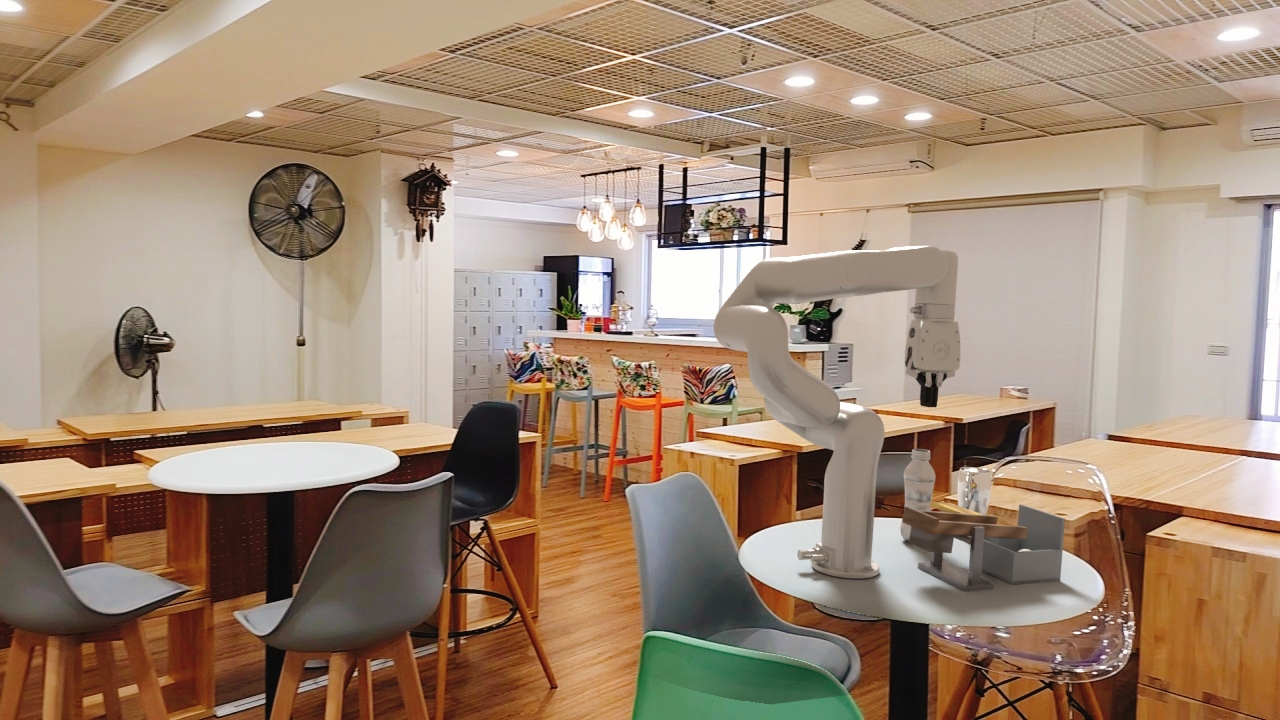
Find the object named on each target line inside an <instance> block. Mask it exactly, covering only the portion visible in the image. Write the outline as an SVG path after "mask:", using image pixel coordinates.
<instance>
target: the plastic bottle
mask: <svg viewBox="0 0 1280 720" xmlns="http://www.w3.org/2000/svg"><path fill="white" fill-rule="evenodd" d="M910 457H911V459H912V460H911V461H910V462H909V463H908V465H906V467H905V469H904V471H903V486H904V507H911V508H913V509H916V510H923V511H932V507H930V501H931V502H932V500H933V491H934V488H935V482H936V477H937V476H936V473H935V470H934V468H933V467H932V465H931V463H930V462H929V461H930V460H931V451H930V449H929V450H928V449H922V448H914V449H912V451H911V455H910ZM902 520H903V518H902V519H901V523H900V528H899V529H900V535H901V537H902V539H903V540H905V541H907V542H909V538H910V531H911V526H910V525H908V524H905V523H903V522H902Z"/></svg>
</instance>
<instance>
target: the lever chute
mask: <svg viewBox="0 0 1280 720" xmlns="http://www.w3.org/2000/svg"><path fill="white" fill-rule="evenodd" d="M930 507H931V508H933V509H936V510H939V511H935V510H934V511H933V510H931V511H923V510H916V509H913V508H911V507H905V506H904V508H903V516H902V519H903V520H902V519H901V522H903V523H905V524H908V525H910V526H911V531H910V538H909V541H908V544H911V545H913V546H915V547H917V548H919V549H922V550H923V551H925V552H928V553H931V552H938V553H943V554H952V553H953V552H952V551H953V544H954V539H957V540H959V541H961V542H963V543H966V544H968V545H970V546H971V538H970V537H968V536H971V532H972V527H977V526H982V527H984V528H985V530H984V537H990V538H1006V539H1021V540H1022V538H1026V536H1027V529H1028V528H1027V527H1024V526H1018V525H1010V524H1009V525H1007V524H998V516H995V515H989V514H988V515H987V514H986V515H982V514H979V513H977V512H974V511H971V510H968V509H966V508H963V507H960V506H959V505H958V504H954V503H951V502H941V501H940V502H939V501H932V500H931V501H930Z"/></svg>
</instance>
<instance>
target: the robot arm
mask: <svg viewBox="0 0 1280 720" xmlns="http://www.w3.org/2000/svg"><path fill="white" fill-rule="evenodd" d="M958 268H959V256H958V254H957V253H956V252H955V251H953V250H948V249H947V250H946V249H940V248H938V247H937V246H933V245H915V246H913V245H911V246H899V247H898V246H897V247H892V248H889V249H886V250H843V251H835V252H834V251H833V252H825V253H819V254H818V253H817V254H816V253H815V254H809V255H801V256H800V255H799V256H788V257H770V258H769V257H768V258H765V259H763V260H761V261H759V262H758V263H757V264H755V265H754V267H753V268H752V269H750V271H749V272H748V273H747V274H746V275H745V277H744V278H743V279H742V281H741V282H740V283H739V284H738V285H737V287H736V288H735V290H734V291H733V292H732V293H731V294H730V296H729V297H728V298H727V299H726V301H725V302H723V304H722V306H721V307H720V308H719V310H718V312H717V313H716V315H715V319H714V321H713V334H714V337H715V339H716V340H717V341H718V343H719V344H720V345H722V346H723V347H724V348H726V349H728V350H733V351H739V352H744V353H745V352H746V353H747V369H748V376H749V378H750V379H749V380H750V382H751V384H752V386H753V388H754V389H755V390H756V391H757V392H758V394H760V395H761V396H762V397H763V401H764V406H765V408H766V411H767V412H768V414H769V415H770V416H771V418H773V419H774V420H775V421H777V422H778V423H779V424H781V425H782V426H784V427H785V428H787V429H789V430H790V431H792V432H793V433H795V434H796V435H797V436H799V437H801V438H803V439H804V440H806V441H807V442H809V443H811V444H813V445H815V446H817V447H821V448H825V449H828V450H831V451H833V453H832V456H831V458H830V460H829V462H828V463H827V466H826V469H825V473H824V482H823V487H824V488H823V505H822V522H821V523H822V525H821V539H820V540H821V541H820V542H815V547H813V548H811V549H808V548H807V549H799V550H797V552H796V553H797V554H796V555H797V558H798V560H799V561H804V560H805V561H807V560H810V562H811V567H812V568H813V569H814V570H816V571H817V572H819V573H822V574H824V575H828V576H832V577H838V578H842V579H843V578H844V579H857V580H860V579H861V580H862V579H868V578H873V577H875V576H877V575H879V574H880V565H879V563H877V562H876V561H874V560H872V556H873V542H874V541H873V540H874V525H875V523H874V522H875V508H876V507H875V505H876V490H877V488H876V487H877V476H878V468H879V467H878V466H879V460H880V457H881V451H882V449H883V446H884V441H885V433H886V430H885V425H884V422H883V420H882V418H881V417H880V415H878V414H877V412H876V411H874V410H873V409H871V408H869V407H867V406H864V405H861V404H855V403H850V402H843V401H840V398H839V395H838V393H837V392H836V391H835V389H834V388H833V387H832V386H831V385H830V384H828V383H827V382H826V381H825V380H824V379H823V380H822V379H821V378H820V377H818V376H816V375H815V374H813V373H812V372H811V371H809V370H807V369H806V368H805V367H803V366H802V365H801V364H799V363H798V362H797V361H796V360H794V358H792V355H791V354H790V348H789V329H788V324H787V322H786V320H785V318H784V316H783V315H782V314H781V313H780V312H779V311H778V310H777V309H774V306H775V305H776V304H783V305H784V304H785V305H786V304H787V305H798V304H805V303H813V302H820V301H826V300H827V301H828V300H833V299H842V298H851V297H860V296H861V297H863V296H869V295H876V294H881V293H891V292H898V291H899V292H903V291H909V290H915V298H914V299H915V300H914V306H911V307H910V309H909V312H910V314H912V315H913V319H911V320H910V324H909V327H908V331H907V337H906V343H905V350H904V367H905V368H906V369H905V375H906V376H907V377H910V378H914V379H915V380H916V382H917V384H918V386H920V393H919V405H920V406H921V407H925V408H937V407H938V399H939V388H941V387H942V384H943V382H944V381H945V380H947V379H950V378H953V377H955V375H956V372H957V371H958V370H959V369H960V365H961V334H960V327H959V322H958V321H955V315H956V314H955V313H956V298H957V285H958V284H957V282H958Z"/></svg>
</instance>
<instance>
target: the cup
mask: <svg viewBox="0 0 1280 720" xmlns="http://www.w3.org/2000/svg"><path fill="white" fill-rule="evenodd" d="M1018 505H1019V506H1018V517H1017V519H1018V520H1017V526H1024V527H1027V528H1028V529H1027V536H1026V538H1022V540H1021V539H1006V538H990V537H984V545H983V559H982V572H983V573H984V574H986V575H987V574H988V575H990V576H992V577H994V578H996V579H998V580H1000V581H1002V582H1005V583H1008V584H1010V585H1025V584H1026V585H1027V584H1037V583H1038V584H1039V583H1050V582H1051V583H1052V582H1061V576H1062V574H1061V573H1062V561H1063V550H1064V539H1065V538H1064V535H1065V534H1064V533H1065V522H1066V518H1064V517H1062V516H1059V515H1056V514H1052V513H1048V512H1046V511H1043V510H1040V509H1037V508H1034V507H1031V506H1027V505H1025V504H1018ZM1022 549H1028V550H1031V551H1020V550H1022ZM1018 551H1020V552H1018Z"/></svg>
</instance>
